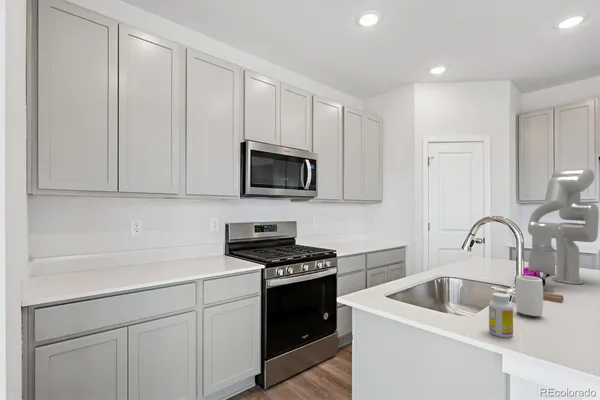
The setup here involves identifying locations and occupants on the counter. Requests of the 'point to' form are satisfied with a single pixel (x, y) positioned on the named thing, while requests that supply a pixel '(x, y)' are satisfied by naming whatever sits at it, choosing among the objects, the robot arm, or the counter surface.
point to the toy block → (528, 272)
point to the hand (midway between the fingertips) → (541, 286)
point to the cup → (529, 295)
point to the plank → (552, 297)
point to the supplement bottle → (501, 315)
